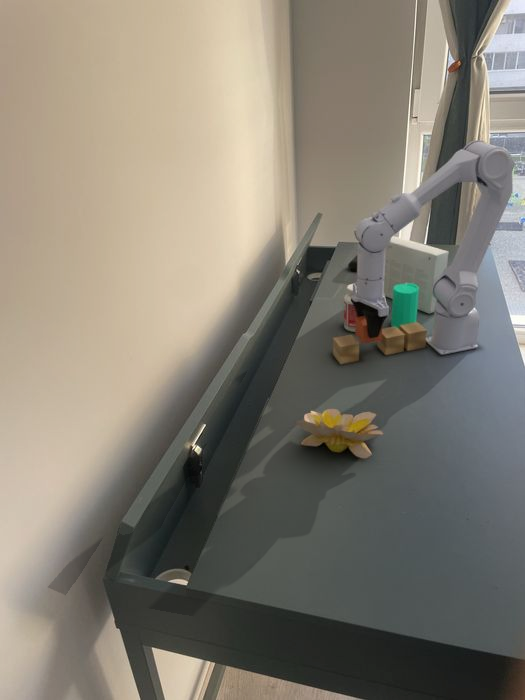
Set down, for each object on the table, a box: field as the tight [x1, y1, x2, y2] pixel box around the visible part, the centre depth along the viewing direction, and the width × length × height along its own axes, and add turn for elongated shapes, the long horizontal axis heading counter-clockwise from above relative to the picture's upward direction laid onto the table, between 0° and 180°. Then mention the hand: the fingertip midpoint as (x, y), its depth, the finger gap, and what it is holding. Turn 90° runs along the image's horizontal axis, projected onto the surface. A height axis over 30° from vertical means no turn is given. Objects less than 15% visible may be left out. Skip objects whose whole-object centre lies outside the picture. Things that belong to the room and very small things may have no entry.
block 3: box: [399, 321, 428, 351], centre depth 123 cm, size 4×4×4 cm
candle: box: [390, 282, 419, 329], centre depth 129 cm, size 6×6×12 cm
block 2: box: [376, 326, 405, 356], centre depth 122 cm, size 4×4×4 cm
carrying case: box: [347, 254, 358, 272], centre depth 166 cm, size 11×3×15 cm
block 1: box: [332, 334, 360, 365], centre depth 120 cm, size 4×4×4 cm
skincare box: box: [384, 235, 449, 315], centre depth 141 cm, size 21×5×16 cm, turn 34°
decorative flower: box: [293, 408, 384, 459], centre depth 93 cm, size 15×11×10 cm
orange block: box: [354, 316, 383, 344], centre depth 119 cm, size 4×4×4 cm
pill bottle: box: [343, 283, 357, 333], centre depth 131 cm, size 6×6×11 cm
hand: (368, 331), depth 119 cm, fingers closed on orange block, 4 cm apart
